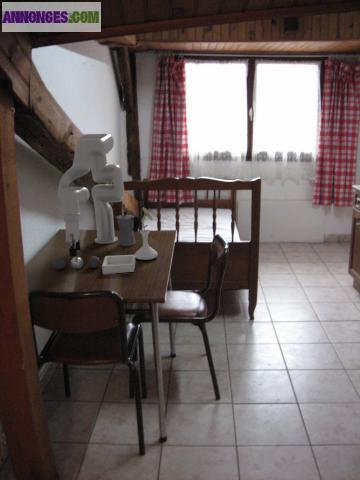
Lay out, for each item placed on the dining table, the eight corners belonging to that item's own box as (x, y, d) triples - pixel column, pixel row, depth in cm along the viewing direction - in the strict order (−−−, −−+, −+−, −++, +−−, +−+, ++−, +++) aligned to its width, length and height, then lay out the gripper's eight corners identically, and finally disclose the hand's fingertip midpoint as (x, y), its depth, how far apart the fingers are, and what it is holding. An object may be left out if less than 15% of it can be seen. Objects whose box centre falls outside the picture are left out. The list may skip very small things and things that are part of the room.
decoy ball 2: (89, 265, 226) (88, 254, 224) (101, 265, 226) (100, 254, 224) (87, 269, 220) (86, 258, 219) (99, 269, 220) (98, 257, 219)
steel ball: (72, 266, 225) (71, 255, 224) (84, 266, 225) (83, 255, 224) (70, 270, 220) (69, 259, 218) (82, 270, 220) (81, 258, 219)
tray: (106, 264, 227) (105, 256, 226) (135, 262, 227) (134, 254, 226) (102, 274, 214) (102, 266, 212) (134, 272, 214) (133, 264, 213)
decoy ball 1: (55, 267, 225) (54, 256, 224) (67, 266, 225) (66, 255, 224) (53, 271, 220) (51, 260, 218) (65, 270, 220) (63, 259, 218)
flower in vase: (157, 261, 228) (154, 210, 221) (133, 262, 228) (130, 211, 221) (158, 252, 240) (156, 204, 233) (136, 253, 240) (132, 205, 233)
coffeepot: (112, 245, 256) (109, 212, 251) (122, 240, 264) (119, 208, 259) (136, 248, 249) (134, 214, 244) (145, 243, 257) (143, 210, 252)
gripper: (67, 213, 224) (70, 248, 228) (59, 221, 207) (63, 259, 212) (83, 212, 224) (86, 247, 228) (77, 221, 207) (80, 258, 212)
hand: (75, 253), depth 220 cm, fingers open, 9 cm apart
